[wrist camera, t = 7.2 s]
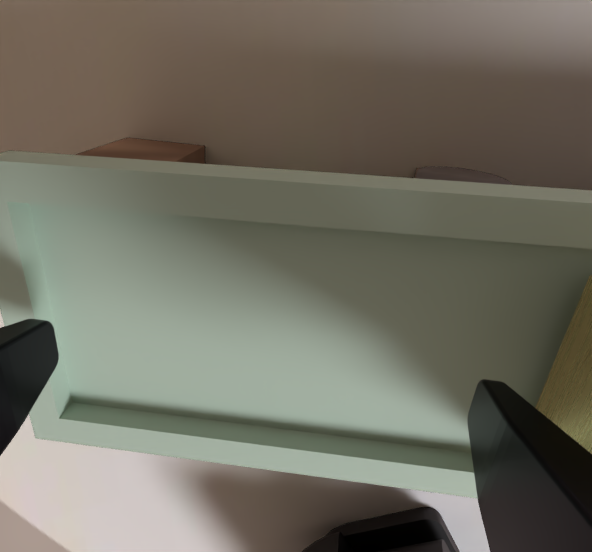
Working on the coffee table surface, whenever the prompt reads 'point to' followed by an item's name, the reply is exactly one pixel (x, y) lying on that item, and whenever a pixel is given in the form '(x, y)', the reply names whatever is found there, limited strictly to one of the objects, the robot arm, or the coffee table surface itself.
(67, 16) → the coffee table surface
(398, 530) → the end cap
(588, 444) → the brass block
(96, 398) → the green rimmed tray
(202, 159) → the beam stand
